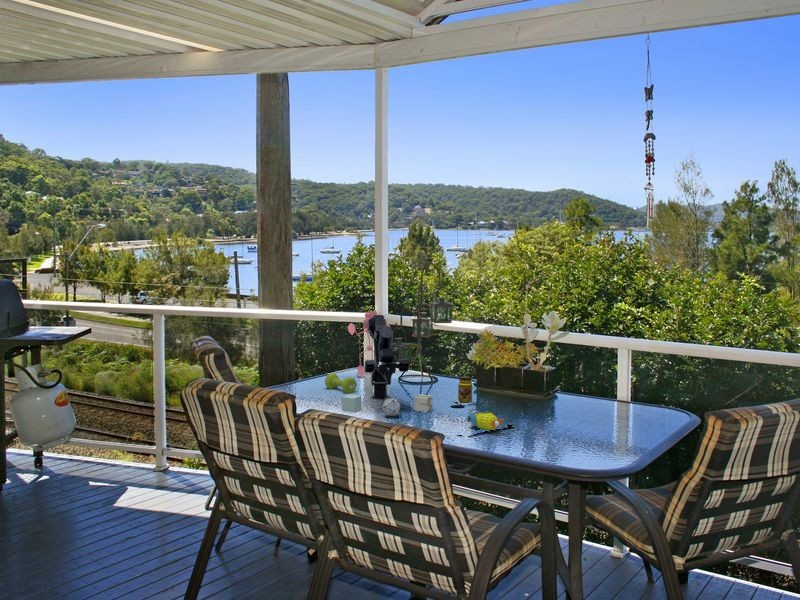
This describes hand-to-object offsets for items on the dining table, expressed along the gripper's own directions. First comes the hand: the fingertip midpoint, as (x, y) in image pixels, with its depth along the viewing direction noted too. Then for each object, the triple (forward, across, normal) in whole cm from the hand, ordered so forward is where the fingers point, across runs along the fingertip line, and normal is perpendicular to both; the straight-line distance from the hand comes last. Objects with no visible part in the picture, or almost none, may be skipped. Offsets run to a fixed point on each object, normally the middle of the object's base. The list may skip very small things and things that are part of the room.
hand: (388, 382), depth 315 cm
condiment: (0, +36, +18) cm, 40 cm away
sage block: (+4, -15, +14) cm, 21 cm away
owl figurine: (+32, +33, -12) cm, 48 cm away
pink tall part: (-45, +2, +62) cm, 77 cm away
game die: (+14, 0, +5) cm, 15 cm away
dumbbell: (-24, -17, +42) cm, 51 cm away
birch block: (+7, +15, +11) cm, 20 cm away
